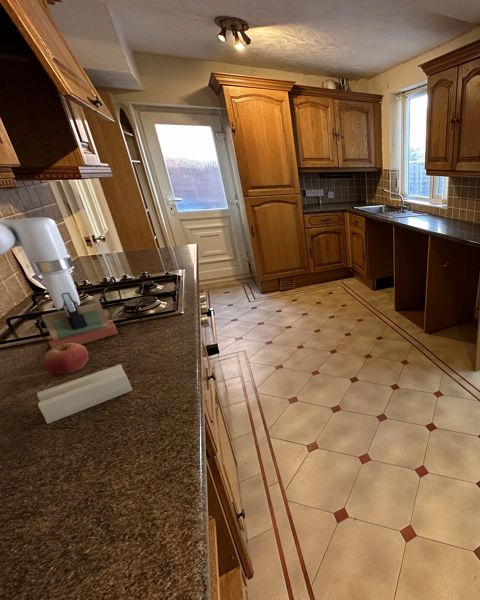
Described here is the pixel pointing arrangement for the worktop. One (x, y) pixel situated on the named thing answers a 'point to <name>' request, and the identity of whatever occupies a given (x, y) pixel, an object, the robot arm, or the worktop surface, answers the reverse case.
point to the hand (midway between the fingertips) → (79, 326)
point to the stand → (86, 336)
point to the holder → (82, 393)
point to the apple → (65, 358)
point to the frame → (62, 327)
